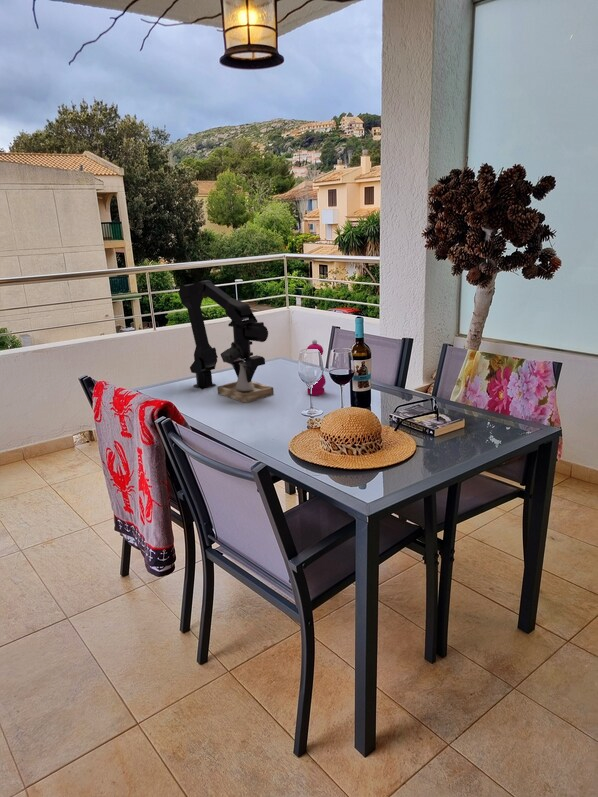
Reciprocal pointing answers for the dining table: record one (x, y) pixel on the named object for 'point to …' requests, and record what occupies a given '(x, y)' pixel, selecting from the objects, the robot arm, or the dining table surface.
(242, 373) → the flask
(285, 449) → the dining table surface
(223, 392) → the serving tray
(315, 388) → the pepper mill
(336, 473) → the dining table surface
